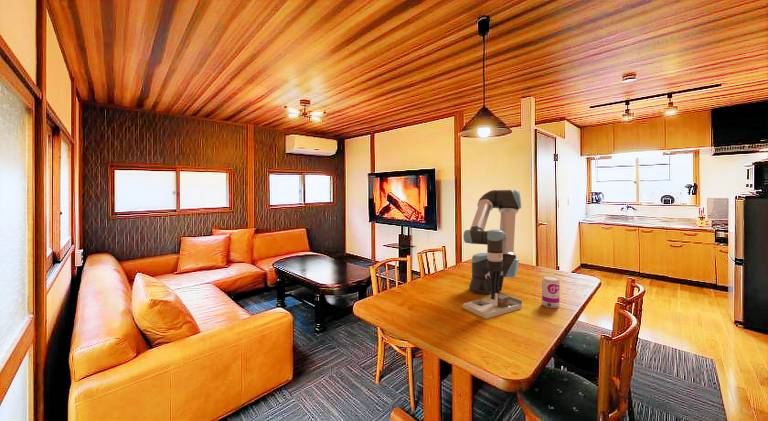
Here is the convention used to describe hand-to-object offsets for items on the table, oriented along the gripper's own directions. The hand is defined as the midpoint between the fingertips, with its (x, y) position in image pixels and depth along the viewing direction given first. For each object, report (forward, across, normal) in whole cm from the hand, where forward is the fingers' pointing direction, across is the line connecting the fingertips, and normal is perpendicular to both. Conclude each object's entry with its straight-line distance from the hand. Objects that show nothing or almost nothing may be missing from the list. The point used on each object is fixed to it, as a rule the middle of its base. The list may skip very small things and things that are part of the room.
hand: (494, 305), depth 157 cm
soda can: (+4, +32, -9) cm, 34 cm away
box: (+4, +3, +4) cm, 6 cm away
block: (+1, +4, 0) cm, 5 cm away
